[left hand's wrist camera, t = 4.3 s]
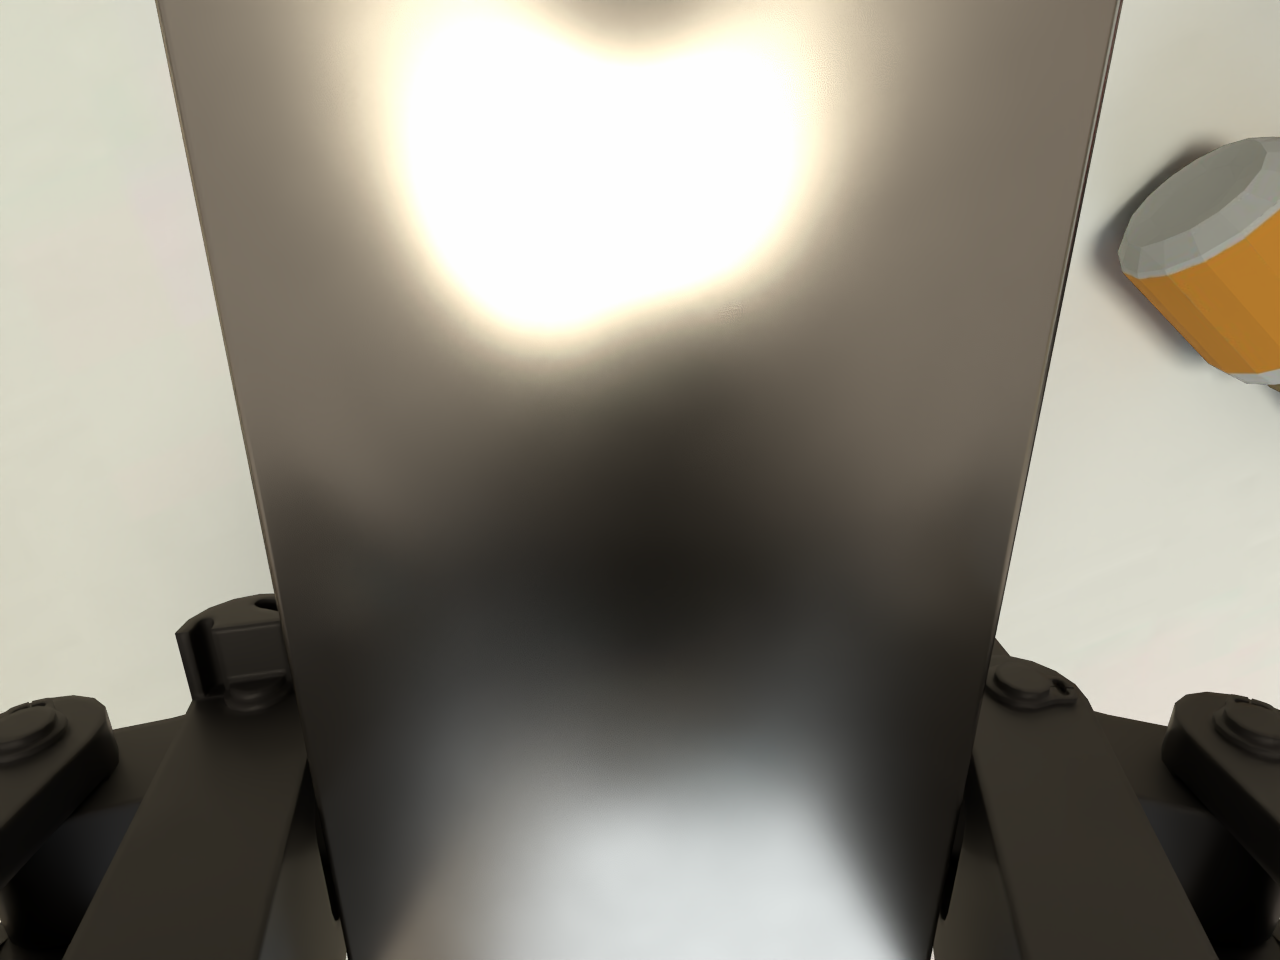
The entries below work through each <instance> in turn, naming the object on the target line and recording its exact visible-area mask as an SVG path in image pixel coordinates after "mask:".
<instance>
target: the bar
mask: <svg viewBox="0 0 1280 960" xmlns="http://www.w3.org/2000/svg"><path fill="white" fill-rule="evenodd" d="M155 3H156V8H157V12H158V17H159V22H160V27H161V32H162V37H163V42H164V47H165V52H166V57H167V62H168V67H169V72H170V77H171V82H172V87H173V92H174V97H175V102H176V107H177V112H178V117H179V122H180V127H181V132H182V137H183V142H184V147H185V152H186V157H187V161H188V166H189V171H190V176H191V181H192V186H193V191H194V196H195V201H196V206H197V211H198V216H199V221H200V226H201V231H202V236H203V241H204V246H205V251H206V256H207V261H208V266H209V271H210V276H211V281H212V286H213V291H214V296H215V301H216V306H217V310H218V315H219V320H220V325H221V330H222V335H223V340H224V345H225V350H226V355H227V360H228V365H229V370H230V375H231V380H232V385H233V390H234V395H235V400H236V405H237V410H238V415H239V420H240V425H241V430H242V435H243V440H244V445H245V450H246V455H247V459H248V464H249V469H250V474H251V479H252V484H253V489H254V494H255V499H256V504H257V509H258V514H259V519H260V524H261V529H262V534H263V539H264V544H265V549H266V554H267V559H268V564H269V569H270V574H271V579H272V584H273V589H274V594H275V599H276V604H277V608H278V613H279V618H280V623H281V628H282V633H283V638H284V643H285V648H286V653H287V658H288V663H289V668H290V673H291V678H292V683H293V688H294V693H295V698H296V703H297V708H298V713H299V718H300V723H301V728H302V733H303V738H304V743H305V748H306V753H307V757H308V762H309V767H310V772H311V777H312V782H313V787H314V792H315V797H316V802H317V807H318V812H319V817H320V822H321V827H322V832H323V837H324V842H325V847H326V852H327V857H328V862H329V867H330V872H331V877H332V882H333V887H334V892H335V897H336V902H337V906H338V911H339V916H340V921H341V926H342V931H343V936H344V941H345V946H346V951H347V956H348V960H930V959H931V954H932V949H933V944H934V939H935V934H936V929H937V924H938V919H939V914H940V909H941V904H942V899H943V894H944V889H945V884H946V879H947V874H948V869H949V864H950V859H951V854H952V849H953V844H954V839H955V834H956V829H957V824H958V820H959V815H960V810H961V805H962V800H963V795H964V790H965V785H966V780H967V775H968V770H969V765H970V760H971V755H972V750H973V745H974V740H975V735H976V730H977V725H978V720H979V715H980V710H981V705H982V700H983V695H984V690H985V685H986V680H987V675H988V670H989V665H990V660H991V655H992V650H993V645H994V640H995V635H996V630H997V625H998V620H999V615H1000V611H1001V606H1002V601H1003V596H1004V591H1005V586H1006V581H1007V576H1008V571H1009V566H1010V561H1011V556H1012V551H1013V546H1014V541H1015V536H1016V531H1017V526H1018V521H1019V516H1020V511H1021V506H1022V501H1023V496H1024V491H1025V486H1026V481H1027V476H1028V471H1029V466H1030V461H1031V456H1032V451H1033V446H1034V441H1035V436H1036V431H1037V426H1038V421H1039V416H1040V411H1041V406H1042V402H1043V397H1044V392H1045V387H1046V382H1047V377H1048V372H1049V367H1050V362H1051V357H1052V352H1053V347H1054V342H1055V337H1056V332H1057V327H1058V322H1059V317H1060V312H1061V307H1062V302H1063V297H1064V292H1065V287H1066V282H1067V277H1068V272H1069V267H1070V262H1071V257H1072V252H1073V247H1074V242H1075V237H1076V232H1077V227H1078V222H1079V217H1080V212H1081V207H1082V202H1083V198H1084V193H1085V188H1086V183H1087V178H1088V173H1089V168H1090V163H1091V158H1092V153H1093V148H1094V143H1095V138H1096V133H1097V128H1098V123H1099V118H1100V113H1101V108H1102V103H1103V98H1104V93H1105V88H1106V83H1107V78H1108V73H1109V68H1110V63H1111V58H1112V53H1113V48H1114V43H1115V38H1116V33H1117V28H1118V23H1119V18H1120V13H1121V8H1122V3H1123V0H155Z"/></svg>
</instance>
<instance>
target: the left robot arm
mask: <svg viewBox="0 0 1280 960" xmlns="http://www.w3.org/2000/svg"><path fill="white" fill-rule="evenodd" d="M175 635H176V639H177V643H178V647H179V651H180V654H181V658H182V662H183V666H184V670H185V673H186V677H187V681H188V685H189V689H190V692H191V696H192V702H191V704H190V706H189V708H188V710H187V712H186V714H185V715H182V716H178V717H174V718H170V719H165V720H160V721H155V722H150V723H144V724H139V725H134V726H129V727H124V728H119V729H114V730H113V729H112V726H111V723H110V720H109V717H108V714H107V710H106V707H105V706H104V705H103V704H101V703H100V702H99V701H97V700H96V699H95V698H90V697H83V696H75V695H72V696H63V697H55V698H44V699H40V700H35V701H32V703H29V702H27V703H24V704H21V705H18V706H15V707H13V708H10V709H9V710H7V711H6V712H4V713H2V714H0V920H1V923H0V960H346V952H347V951H346V946H345V941H344V936H343V931H342V926H341V921H340V916H339V911H338V906H337V902H336V897H335V892H334V887H333V882H332V877H331V872H330V867H329V862H328V857H327V852H326V847H325V842H324V837H323V832H322V827H321V822H320V817H319V812H318V807H317V802H316V797H315V792H314V787H313V782H312V777H311V772H310V767H309V762H308V757H307V753H306V748H305V743H304V738H303V733H302V728H301V723H300V718H299V713H298V708H297V703H296V698H295V693H294V688H293V683H292V678H291V673H290V668H289V663H288V658H287V653H286V648H285V643H284V638H283V633H282V628H281V623H280V618H279V613H278V608H277V604H276V599H275V594H258V595H253V596H248V597H242V598H237V599H233V600H230V601H227V602H225V603H222V604H219V605H216V606H213V607H211V608H208V609H207V610H205V611H203V612H201V613H200V614H198V615H196V616H194V617H193V618H191V619H189V620H188V621H187V622H186V623H185V624H184V625H183V626H182V627H181V628H180V629H179V630H178V631H177V632H176V633H175ZM1279 918H1280V710H1278V709H1276V708H1274V707H1273V706H1271V705H1269V704H1267V703H1264V702H1261V701H1258V700H1255V699H1252V700H1250V699H1248V697H1244V696H1239V695H1234V694H1222V693H1213V692H1202V693H1194V694H1187V695H1185V696H1184V697H1182V698H1181V699H1180V700H1178V701H1177V702H1176V703H1175V705H1174V708H1173V711H1172V715H1171V718H1170V721H1169V724H1168V726H1163V725H1158V724H1152V723H1147V722H1142V721H1137V720H1132V719H1127V718H1122V717H1117V716H1112V715H1107V714H1103V713H1099V712H1095V711H1093V709H1092V707H1091V705H1090V703H1089V701H1088V699H1087V698H1086V697H1085V695H1084V694H1083V693H1082V692H1081V691H1080V689H1079V688H1078V687H1077V686H1076V685H1075V684H1074V683H1073V682H1071V681H1070V680H1068V679H1067V678H1065V677H1064V676H1062V675H1061V674H1059V673H1058V672H1056V671H1054V670H1052V669H1049V668H1047V667H1045V666H1042V665H1040V664H1037V663H1035V662H1033V661H1029V660H1024V659H1020V658H1016V657H1011V656H1010V655H1009V654H1008V653H1007V652H1006V650H1005V649H1004V648H1003V647H1002V646H1001V644H1000V643H999V642H998V641H997V639H996V638H995V640H994V645H993V650H992V655H991V660H990V665H989V670H988V675H987V680H986V685H985V690H984V695H983V700H982V705H981V710H980V715H979V720H978V725H977V730H976V735H975V740H974V745H973V750H972V755H971V760H970V765H969V770H968V775H967V780H966V785H965V790H964V795H963V800H962V805H961V810H960V815H959V820H958V824H957V829H956V834H955V839H954V844H953V849H952V854H951V859H950V864H949V869H948V874H947V879H946V884H945V889H944V894H943V899H942V904H941V909H940V914H939V919H938V924H937V929H936V934H935V939H934V944H933V950H934V958H935V960H1280V919H1279Z"/></svg>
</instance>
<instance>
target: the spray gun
mask: <svg viewBox="0 0 1280 960" xmlns="http://www.w3.org/2000/svg"><path fill="white" fill-rule="evenodd" d="M1118 256H1119V260H1120V264H1121V268H1122V272H1123V273H1124V275H1125V276H1126V277H1127V278H1128V279H1129V280H1130V281H1131V282H1132V283H1133V284H1134V285H1135V286H1136V287H1137V288H1138V289H1139V290H1140V291H1141V293H1142V294H1143V295H1144V296H1145V297H1146V298H1147V299H1148V300H1149V301H1150V302H1151V303H1152V304H1153V305H1154V306H1155V307H1156V308H1157V309H1158V311H1159V312H1160V313H1161V314H1162V315H1163V316H1164V317H1165V318H1166V319H1167V320H1168V321H1169V322H1170V323H1171V324H1172V325H1173V326H1174V327H1175V329H1176V330H1177V331H1178V332H1179V333H1180V334H1181V335H1182V336H1183V337H1184V338H1185V339H1186V340H1187V341H1188V342H1189V343H1190V344H1191V346H1192V347H1193V348H1194V349H1195V350H1196V351H1197V352H1198V353H1199V354H1200V355H1201V356H1202V357H1203V358H1204V359H1205V360H1206V361H1207V362H1208V364H1210V365H1212V366H1214V367H1216V368H1218V369H1220V370H1222V371H1223V372H1225V373H1227V374H1229V375H1231V376H1233V377H1235V378H1237V379H1239V380H1241V381H1243V382H1245V383H1246V384H1267V385H1268V386H1269V387H1271V388H1273V389H1275V390H1277V391H1279V392H1280V137H1261V138H1248V139H1244V140H1241V141H1237V142H1234V143H1231V144H1227V145H1224V146H1222V147H1220V148H1218V149H1216V150H1214V151H1212V152H1210V153H1208V154H1206V155H1204V156H1202V157H1200V158H1198V159H1196V160H1194V161H1193V162H1191V163H1190V164H1188V165H1187V166H1185V167H1184V168H1183V169H1181V170H1180V171H1178V172H1177V173H1175V174H1174V175H1172V176H1171V177H1169V178H1168V179H1167V180H1166V181H1165V182H1164V183H1162V184H1161V185H1160V186H1159V187H1158V188H1157V189H1156V190H1155V191H1153V192H1152V193H1151V194H1150V195H1149V196H1148V197H1147V198H1146V199H1145V200H1144V202H1143V203H1142V204H1141V205H1140V206H1139V208H1138V209H1137V210H1136V211H1135V213H1134V214H1133V215H1132V217H1131V219H1130V221H1129V224H1128V226H1127V228H1126V231H1125V233H1124V236H1123V239H1122V242H1121V245H1120V247H1119V250H1118Z"/></svg>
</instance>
